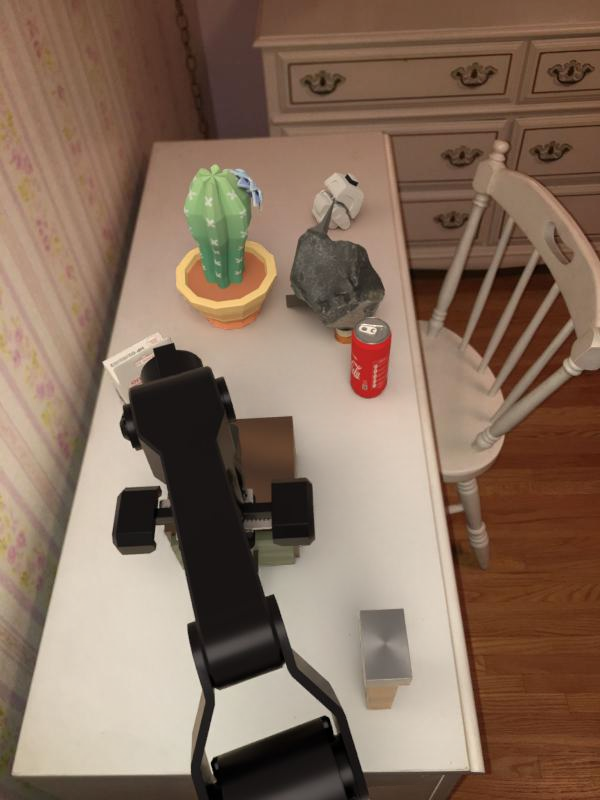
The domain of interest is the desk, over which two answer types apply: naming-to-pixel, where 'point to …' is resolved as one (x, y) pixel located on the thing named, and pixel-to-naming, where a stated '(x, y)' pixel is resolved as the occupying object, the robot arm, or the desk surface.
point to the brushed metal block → (384, 648)
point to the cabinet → (264, 457)
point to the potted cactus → (224, 250)
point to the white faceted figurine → (339, 200)
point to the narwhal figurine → (334, 280)
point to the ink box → (132, 364)
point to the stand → (380, 697)
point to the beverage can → (370, 356)
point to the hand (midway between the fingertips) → (227, 550)
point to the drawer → (256, 551)
